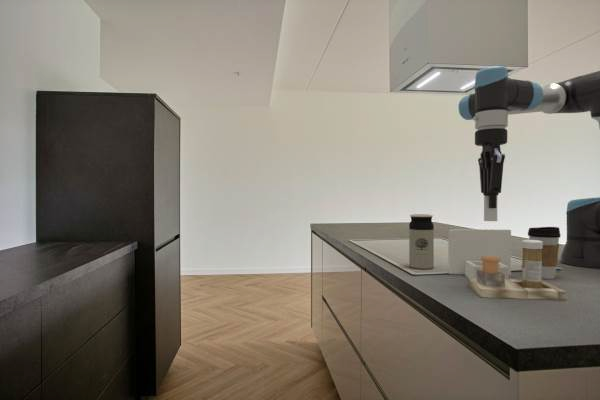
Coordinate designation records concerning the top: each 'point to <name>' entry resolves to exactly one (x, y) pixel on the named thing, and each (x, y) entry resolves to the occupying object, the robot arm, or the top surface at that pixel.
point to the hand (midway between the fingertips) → (490, 220)
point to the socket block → (511, 288)
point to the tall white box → (478, 250)
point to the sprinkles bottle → (532, 263)
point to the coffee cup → (547, 248)
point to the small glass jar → (490, 264)
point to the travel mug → (421, 241)
